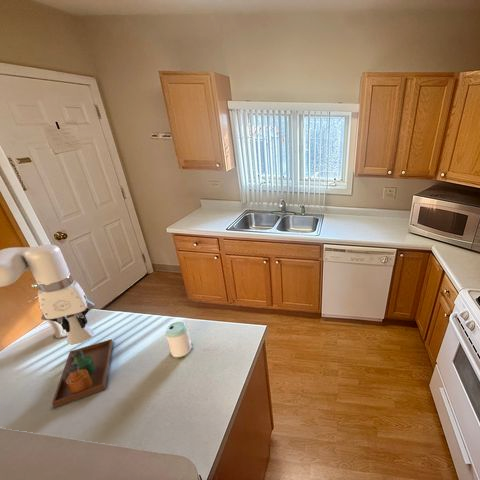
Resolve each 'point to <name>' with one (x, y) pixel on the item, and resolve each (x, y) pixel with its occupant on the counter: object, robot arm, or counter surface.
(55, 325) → the beer glass
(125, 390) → the counter surface
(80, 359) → the green bottle
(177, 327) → the can
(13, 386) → the counter surface
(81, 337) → the flask
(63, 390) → the tray
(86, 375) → the amber bottle
